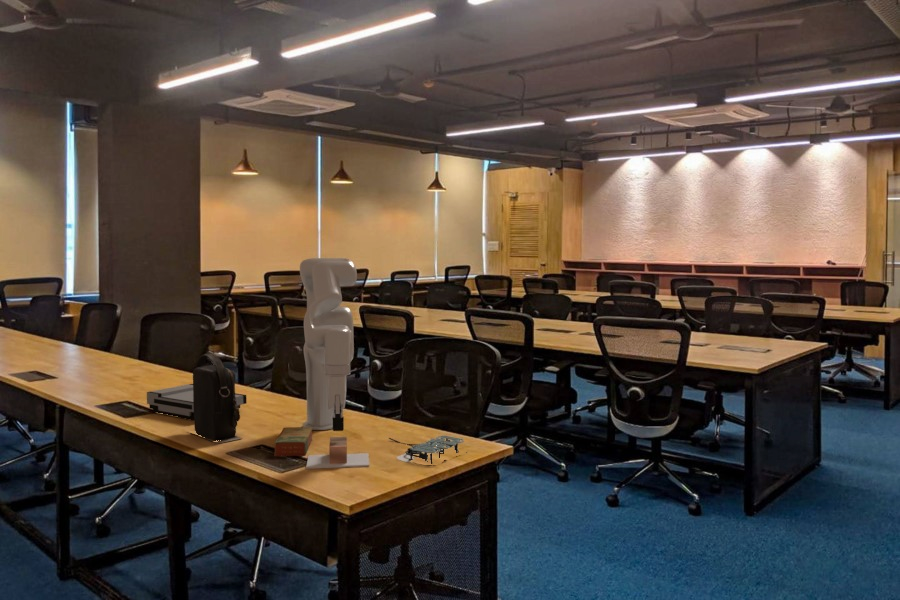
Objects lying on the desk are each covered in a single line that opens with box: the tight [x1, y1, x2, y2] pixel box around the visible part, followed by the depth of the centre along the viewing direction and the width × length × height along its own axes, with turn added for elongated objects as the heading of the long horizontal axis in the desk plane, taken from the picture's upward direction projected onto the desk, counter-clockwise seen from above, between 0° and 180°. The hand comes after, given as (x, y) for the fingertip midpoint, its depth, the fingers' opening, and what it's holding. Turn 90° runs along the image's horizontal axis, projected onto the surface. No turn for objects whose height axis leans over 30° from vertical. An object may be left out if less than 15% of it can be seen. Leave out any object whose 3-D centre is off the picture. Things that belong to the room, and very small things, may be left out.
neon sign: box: [388, 434, 465, 464], centre depth 224 cm, size 21×4×29 cm
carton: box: [273, 426, 313, 457], centre depth 228 cm, size 10×18×5 cm, turn 4°
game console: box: [146, 383, 248, 421], centre depth 277 cm, size 21×32×8 cm, turn 58°
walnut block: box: [328, 436, 348, 464], centre depth 214 cm, size 5×5×11 cm
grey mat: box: [305, 452, 370, 470], centre depth 213 cm, size 12×18×1 cm, turn 98°
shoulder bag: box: [192, 352, 243, 444], centre depth 242 cm, size 23×9×28 cm, turn 46°
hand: (338, 430), depth 215 cm, fingers closed
